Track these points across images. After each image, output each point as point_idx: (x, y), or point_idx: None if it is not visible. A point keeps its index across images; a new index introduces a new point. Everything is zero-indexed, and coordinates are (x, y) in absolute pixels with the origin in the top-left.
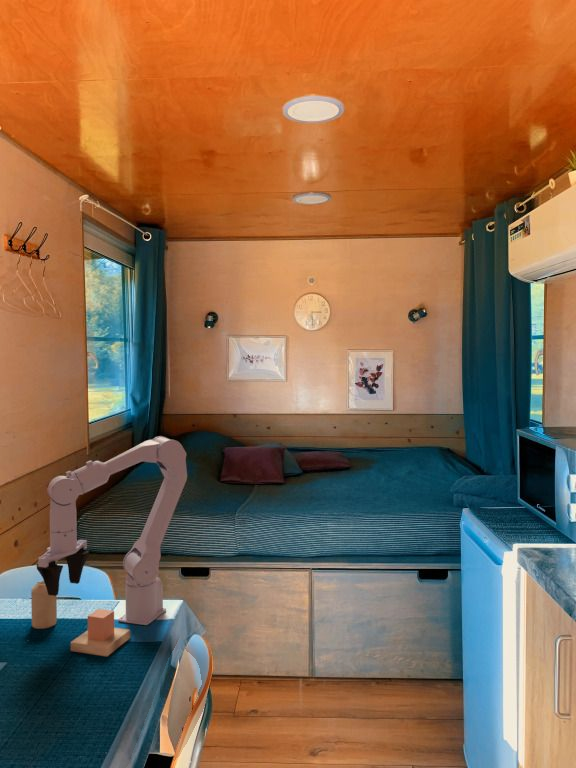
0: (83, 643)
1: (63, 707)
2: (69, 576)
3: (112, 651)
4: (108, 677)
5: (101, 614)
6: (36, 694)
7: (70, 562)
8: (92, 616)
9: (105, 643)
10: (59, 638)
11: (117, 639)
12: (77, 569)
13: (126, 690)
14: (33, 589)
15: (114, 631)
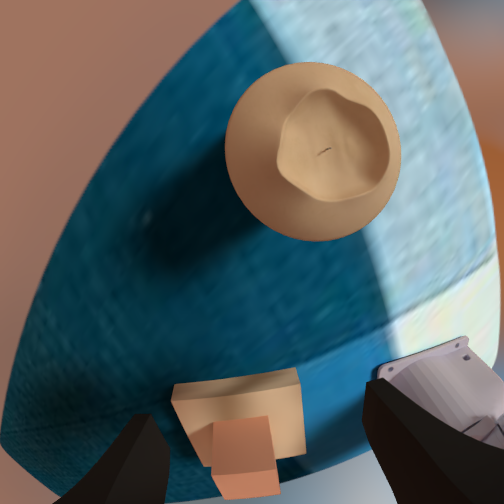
0: (186, 427)
1: (64, 459)
2: (384, 408)
3: None
4: None
5: (242, 489)
6: (44, 418)
7: (434, 497)
8: (217, 483)
9: None
10: (212, 305)
11: None
12: (399, 486)
13: None
14: (243, 114)
15: (282, 440)
